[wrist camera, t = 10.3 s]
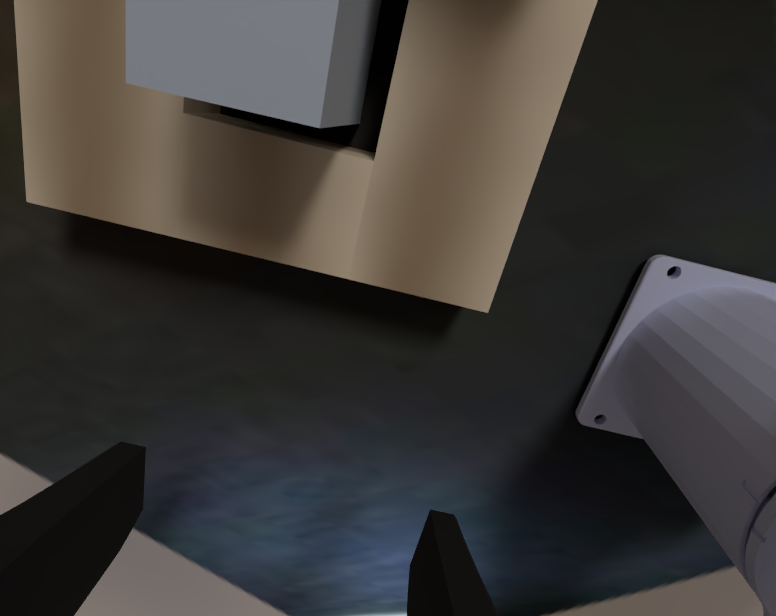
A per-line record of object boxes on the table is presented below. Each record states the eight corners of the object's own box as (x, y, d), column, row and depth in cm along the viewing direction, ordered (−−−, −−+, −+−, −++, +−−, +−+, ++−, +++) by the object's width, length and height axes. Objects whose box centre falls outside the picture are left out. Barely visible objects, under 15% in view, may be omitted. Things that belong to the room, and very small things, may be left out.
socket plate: (620, -150, 14) (673, -217, 11) (476, 284, 19) (487, 312, 16) (77, -309, 13) (-13, -423, 10) (84, 188, 18) (26, 201, 16)
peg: (382, -3, 15) (356, -113, 8) (359, 123, 17) (319, 128, 10) (263, -33, 15) (125, -172, 8) (251, 98, 17) (125, 83, 9)
